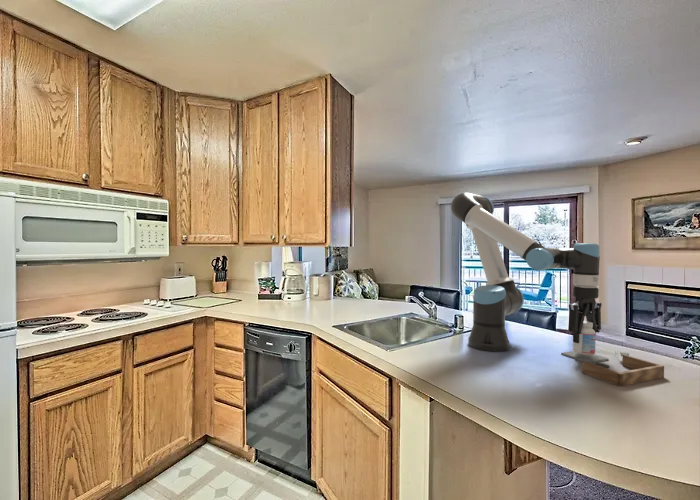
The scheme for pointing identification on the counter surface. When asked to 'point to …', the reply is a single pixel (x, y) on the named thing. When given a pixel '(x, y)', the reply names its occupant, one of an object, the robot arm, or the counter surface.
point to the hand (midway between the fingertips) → (584, 350)
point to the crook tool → (618, 355)
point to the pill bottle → (587, 339)
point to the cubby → (640, 374)
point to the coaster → (585, 357)
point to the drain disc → (602, 365)
